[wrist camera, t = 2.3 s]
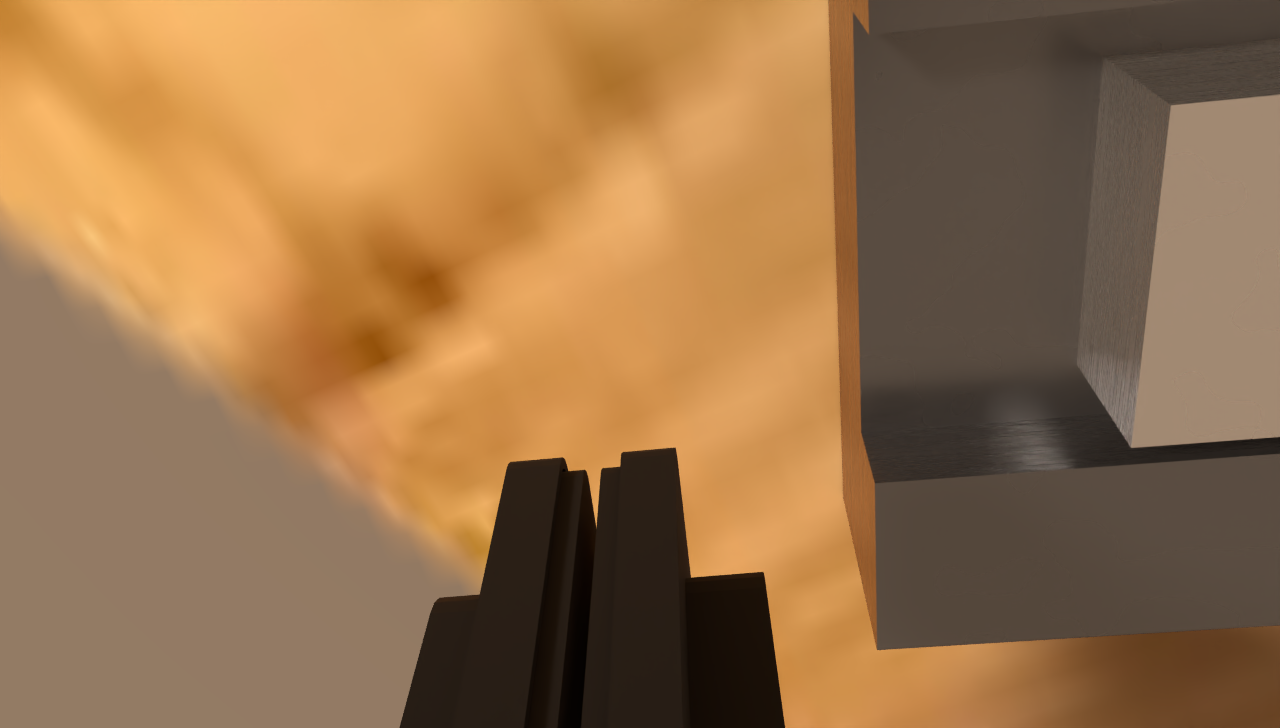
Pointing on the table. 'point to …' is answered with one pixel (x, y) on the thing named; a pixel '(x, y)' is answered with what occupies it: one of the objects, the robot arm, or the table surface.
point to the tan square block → (1186, 245)
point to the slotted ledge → (1013, 339)
